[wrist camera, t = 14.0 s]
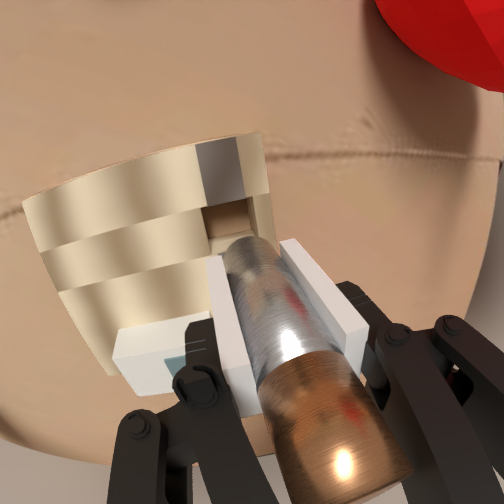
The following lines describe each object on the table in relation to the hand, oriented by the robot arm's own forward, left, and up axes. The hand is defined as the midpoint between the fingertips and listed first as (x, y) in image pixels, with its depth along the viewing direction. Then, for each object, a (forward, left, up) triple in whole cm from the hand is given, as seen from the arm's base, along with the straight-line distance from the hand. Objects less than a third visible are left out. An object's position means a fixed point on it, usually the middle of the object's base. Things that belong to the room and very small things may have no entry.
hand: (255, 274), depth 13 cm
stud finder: (-7, -9, -7) cm, 13 cm away
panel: (-6, -3, -10) cm, 12 cm away
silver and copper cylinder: (0, 0, -1) cm, 1 cm away
